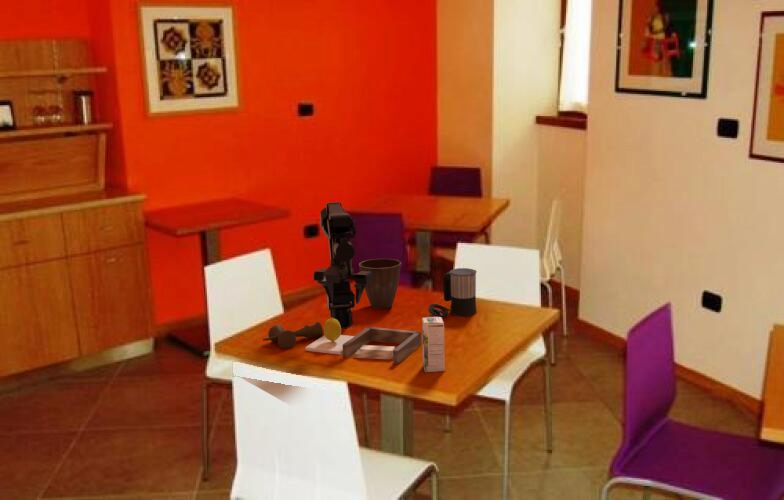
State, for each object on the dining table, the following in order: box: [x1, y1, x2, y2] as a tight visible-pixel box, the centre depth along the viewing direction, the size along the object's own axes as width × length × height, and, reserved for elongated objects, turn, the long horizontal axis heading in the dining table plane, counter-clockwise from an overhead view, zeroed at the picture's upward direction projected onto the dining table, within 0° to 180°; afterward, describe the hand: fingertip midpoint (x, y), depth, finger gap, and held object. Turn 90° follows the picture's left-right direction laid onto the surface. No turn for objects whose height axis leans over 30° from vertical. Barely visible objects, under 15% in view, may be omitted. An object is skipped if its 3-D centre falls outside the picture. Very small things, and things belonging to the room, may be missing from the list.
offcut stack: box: [353, 344, 396, 361], centre depth 241 cm, size 12×4×3 cm, turn 75°
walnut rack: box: [342, 326, 423, 365], centre depth 245 cm, size 18×18×4 cm
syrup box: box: [421, 316, 446, 373], centre depth 228 cm, size 6×6×14 cm
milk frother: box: [428, 267, 478, 319], centre depth 278 cm, size 14×16×15 cm
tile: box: [304, 334, 355, 355], centre depth 253 cm, size 12×14×1 cm
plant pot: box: [358, 258, 402, 310], centre depth 290 cm, size 15×15×16 cm
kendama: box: [262, 321, 324, 350], centre depth 257 cm, size 6×10×20 cm
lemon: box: [322, 316, 342, 342], centre depth 252 cm, size 6×6×8 cm
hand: (344, 302), depth 256 cm, fingers open, 9 cm apart
